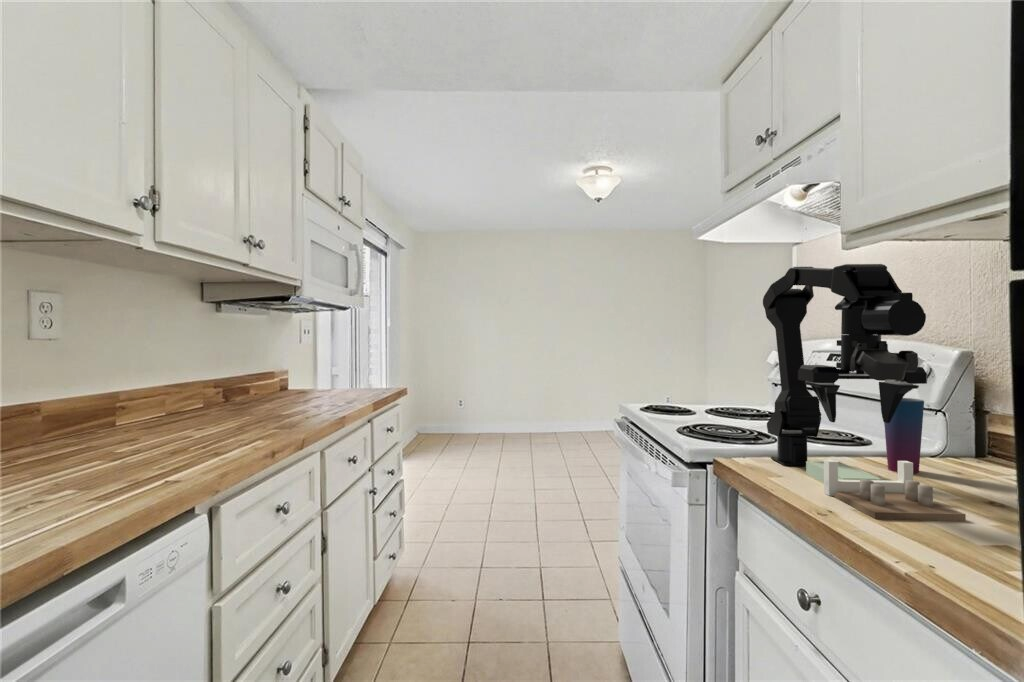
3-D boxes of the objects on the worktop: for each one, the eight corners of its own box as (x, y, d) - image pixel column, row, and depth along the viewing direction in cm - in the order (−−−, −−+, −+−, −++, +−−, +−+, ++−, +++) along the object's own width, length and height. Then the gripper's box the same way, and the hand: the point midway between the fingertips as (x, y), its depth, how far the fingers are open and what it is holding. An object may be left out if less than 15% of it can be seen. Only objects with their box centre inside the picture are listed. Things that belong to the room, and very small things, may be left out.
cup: (932, 475, 95) (932, 401, 95) (894, 473, 96) (893, 400, 96) (911, 467, 102) (911, 397, 102) (875, 465, 103) (875, 397, 103)
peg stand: (834, 497, 82) (834, 474, 82) (913, 498, 81) (913, 475, 81) (875, 518, 72) (874, 492, 72) (965, 520, 71) (965, 494, 71)
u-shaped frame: (824, 493, 84) (823, 459, 84) (906, 494, 83) (906, 460, 83) (829, 495, 83) (828, 461, 83) (913, 497, 82) (913, 462, 82)
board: (806, 475, 96) (806, 461, 96) (839, 476, 96) (839, 461, 96) (843, 494, 85) (843, 478, 85) (881, 495, 84) (881, 478, 84)
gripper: (833, 335, 76) (831, 431, 76) (956, 335, 75) (954, 433, 75) (796, 334, 87) (795, 418, 88) (903, 334, 86) (901, 419, 86)
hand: (859, 422), depth 84 cm, fingers open, 9 cm apart
